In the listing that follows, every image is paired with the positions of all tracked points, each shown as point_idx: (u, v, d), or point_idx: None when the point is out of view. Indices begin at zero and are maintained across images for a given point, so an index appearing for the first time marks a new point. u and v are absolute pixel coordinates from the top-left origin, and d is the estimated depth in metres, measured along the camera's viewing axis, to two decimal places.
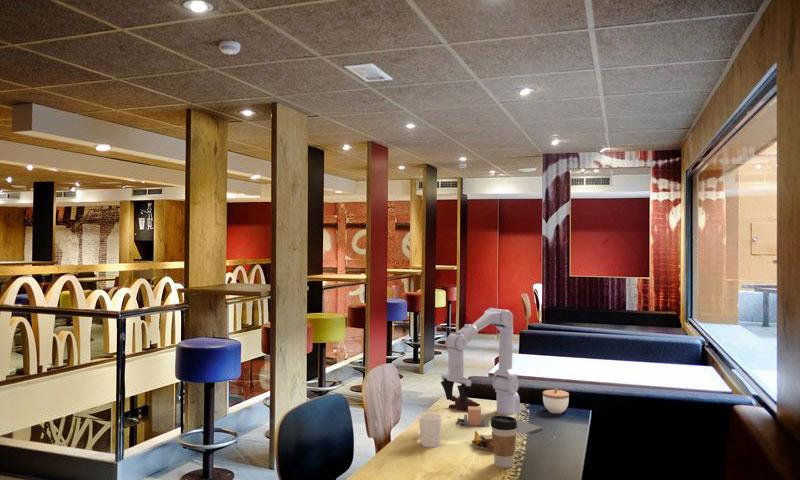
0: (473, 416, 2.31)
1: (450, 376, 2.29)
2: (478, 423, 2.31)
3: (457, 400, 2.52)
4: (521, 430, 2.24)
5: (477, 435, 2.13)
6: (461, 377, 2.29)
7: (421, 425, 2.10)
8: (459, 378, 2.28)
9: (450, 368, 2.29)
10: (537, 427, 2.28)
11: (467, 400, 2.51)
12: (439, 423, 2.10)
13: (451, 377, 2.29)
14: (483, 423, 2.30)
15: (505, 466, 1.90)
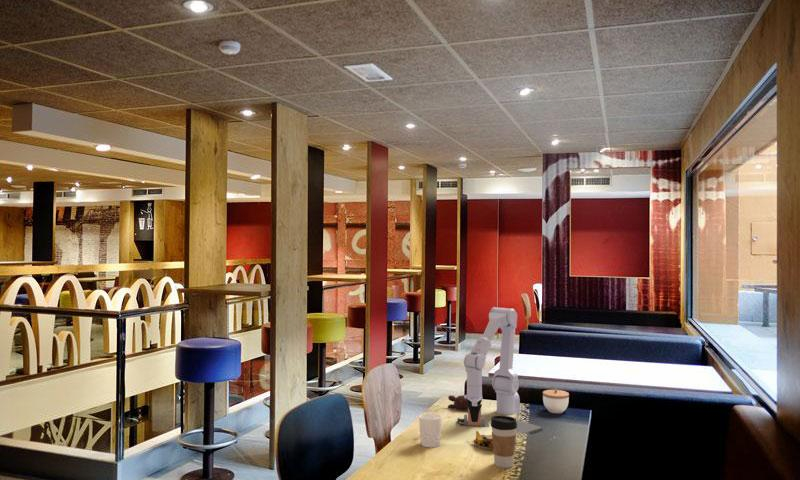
0: None
1: (467, 393, 2.33)
2: (478, 423, 2.31)
3: (456, 400, 2.52)
4: (521, 430, 2.24)
5: (478, 435, 2.13)
6: (475, 396, 2.30)
7: (421, 425, 2.10)
8: (472, 397, 2.30)
9: (467, 386, 2.33)
10: (537, 427, 2.28)
11: (466, 400, 2.51)
12: (439, 423, 2.10)
13: (467, 395, 2.33)
14: (483, 423, 2.30)
15: (505, 466, 1.90)
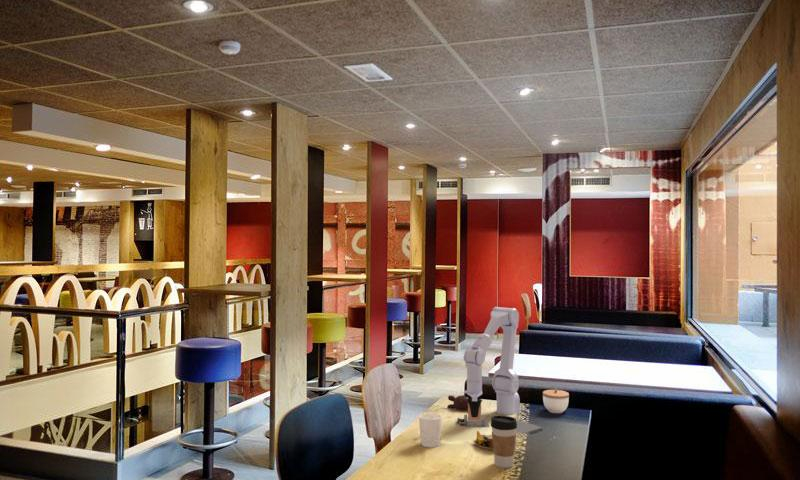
0: None
1: (467, 389, 2.33)
2: (478, 418, 2.31)
3: (456, 400, 2.52)
4: (521, 430, 2.24)
5: (479, 435, 2.13)
6: (475, 392, 2.30)
7: (421, 425, 2.10)
8: (472, 392, 2.30)
9: (467, 381, 2.33)
10: (537, 427, 2.28)
11: (466, 400, 2.51)
12: (439, 423, 2.10)
13: (467, 390, 2.33)
14: (483, 423, 2.30)
15: (505, 466, 1.90)
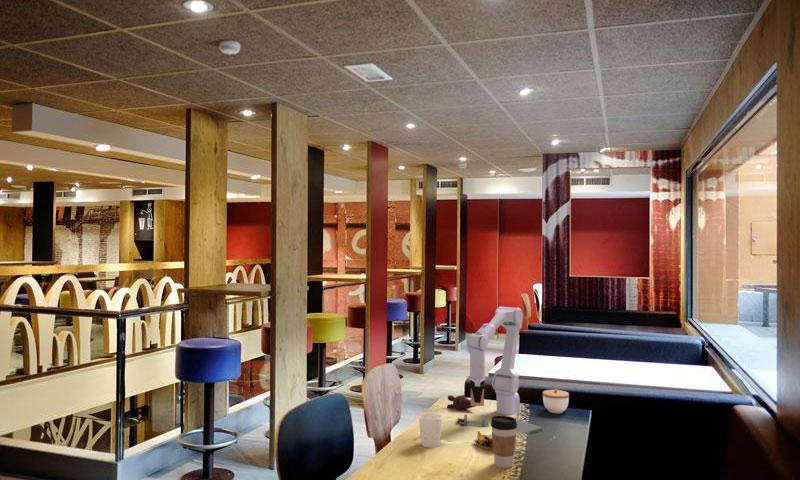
0: None
1: (470, 374, 2.33)
2: (481, 404, 2.31)
3: (455, 400, 2.52)
4: (521, 430, 2.24)
5: (480, 435, 2.13)
6: (478, 377, 2.30)
7: (421, 425, 2.10)
8: (475, 378, 2.30)
9: (470, 366, 2.33)
10: (537, 427, 2.28)
11: (465, 400, 2.51)
12: (439, 423, 2.10)
13: (470, 375, 2.33)
14: (483, 423, 2.30)
15: (505, 466, 1.90)
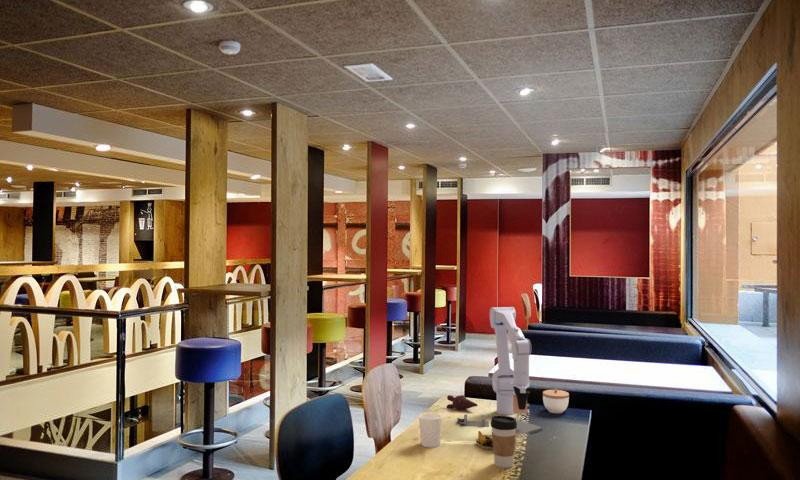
0: None
1: (513, 381, 2.29)
2: (524, 411, 2.27)
3: (454, 400, 2.52)
4: (521, 430, 2.24)
5: (481, 435, 2.13)
6: (522, 383, 2.26)
7: (421, 425, 2.10)
8: (519, 384, 2.26)
9: (513, 373, 2.29)
10: (537, 427, 2.28)
11: (464, 400, 2.51)
12: (439, 423, 2.10)
13: (514, 382, 2.29)
14: (483, 423, 2.30)
15: (505, 466, 1.90)
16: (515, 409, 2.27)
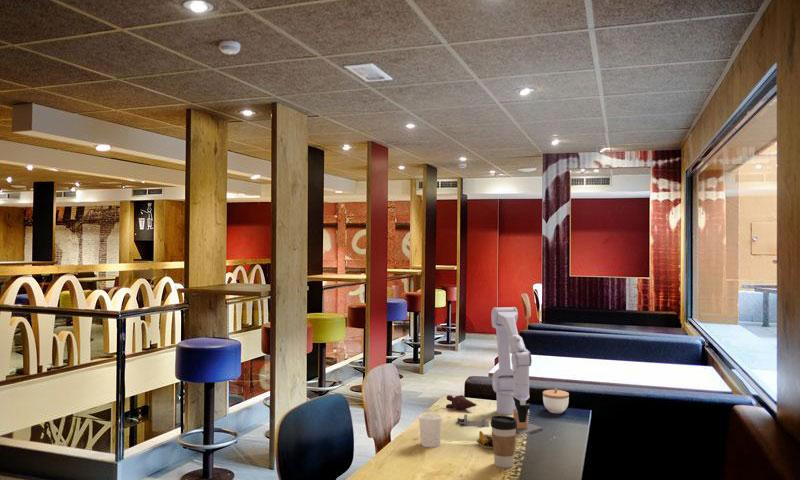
0: None
1: (513, 392, 2.29)
2: (524, 426, 2.27)
3: (454, 400, 2.53)
4: (521, 430, 2.24)
5: (482, 435, 2.13)
6: (522, 395, 2.26)
7: (421, 425, 2.10)
8: (519, 396, 2.26)
9: (513, 384, 2.29)
10: (537, 427, 2.28)
11: (464, 400, 2.51)
12: (439, 423, 2.10)
13: (514, 393, 2.29)
14: (483, 423, 2.30)
15: (505, 466, 1.90)
16: None
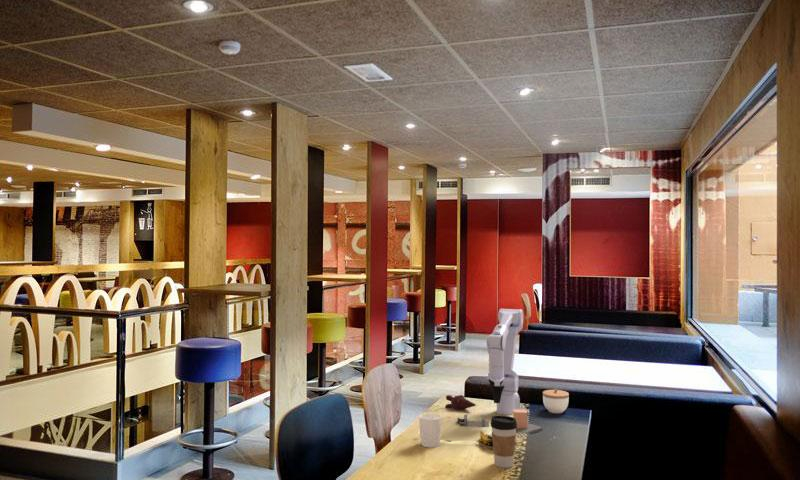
0: (519, 419, 2.27)
1: (489, 374, 2.35)
2: (524, 426, 2.27)
3: (453, 400, 2.53)
4: (521, 430, 2.24)
5: (483, 435, 2.13)
6: (497, 377, 2.32)
7: (421, 425, 2.10)
8: (494, 377, 2.32)
9: None
10: (537, 427, 2.28)
11: (463, 400, 2.51)
12: (439, 423, 2.10)
13: (489, 375, 2.35)
14: (483, 423, 2.30)
15: (505, 466, 1.90)
16: None
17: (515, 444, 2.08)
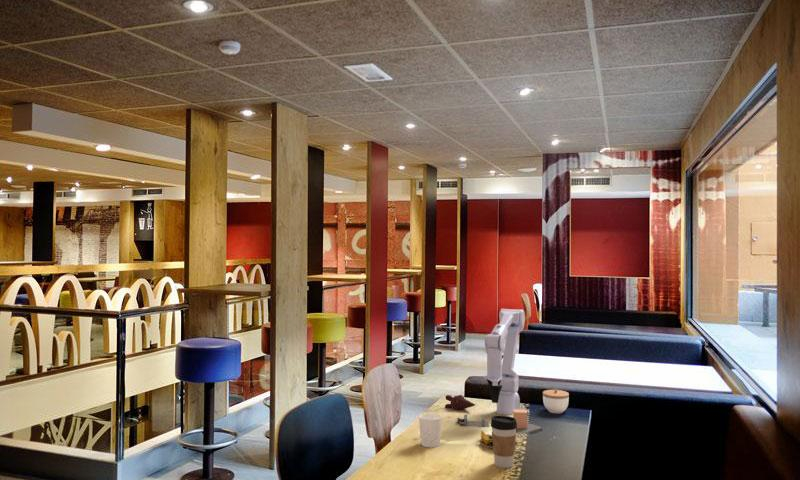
0: (519, 419, 2.27)
1: (487, 374, 2.36)
2: (524, 426, 2.27)
3: (452, 400, 2.53)
4: (521, 430, 2.24)
5: (484, 435, 2.13)
6: (495, 376, 2.33)
7: (421, 425, 2.10)
8: (492, 377, 2.33)
9: (487, 366, 2.36)
10: (537, 427, 2.28)
11: (462, 400, 2.51)
12: (439, 423, 2.10)
13: (487, 375, 2.35)
14: (483, 423, 2.30)
15: (505, 466, 1.90)
16: None
17: (516, 444, 2.08)
